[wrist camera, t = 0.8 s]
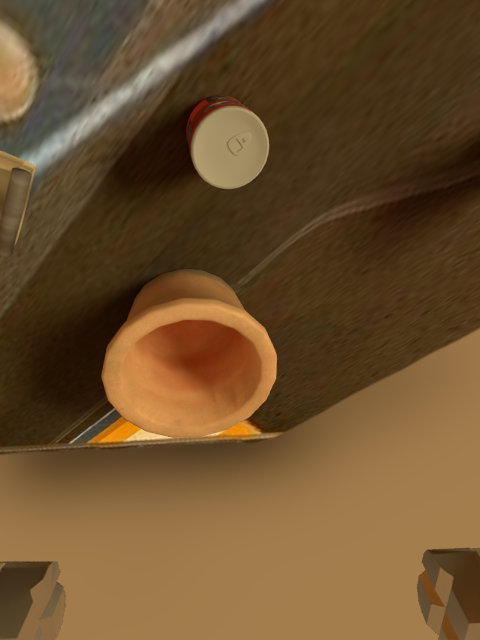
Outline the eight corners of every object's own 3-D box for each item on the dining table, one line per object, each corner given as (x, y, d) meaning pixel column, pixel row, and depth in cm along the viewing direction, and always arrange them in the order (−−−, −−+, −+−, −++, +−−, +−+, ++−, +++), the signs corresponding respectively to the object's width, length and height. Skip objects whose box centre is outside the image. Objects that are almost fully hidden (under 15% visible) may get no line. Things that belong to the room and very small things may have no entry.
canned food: (263, 122, 51) (285, 140, 42) (223, 176, 54) (236, 204, 45) (212, 77, 48) (224, 86, 39) (173, 138, 50) (175, 160, 41)
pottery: (223, 226, 57) (239, 274, 46) (275, 340, 70) (298, 402, 58) (83, 288, 59) (63, 350, 48) (157, 389, 72) (156, 458, 60)
